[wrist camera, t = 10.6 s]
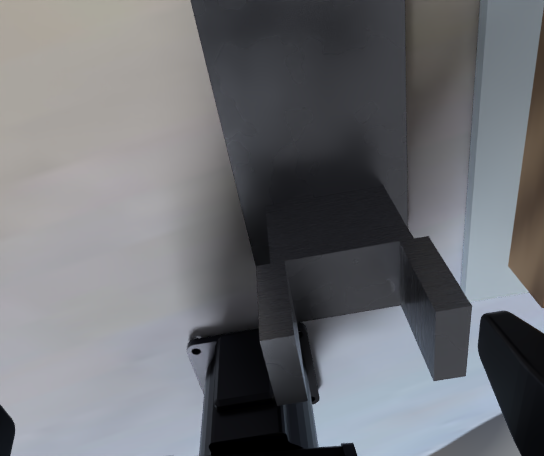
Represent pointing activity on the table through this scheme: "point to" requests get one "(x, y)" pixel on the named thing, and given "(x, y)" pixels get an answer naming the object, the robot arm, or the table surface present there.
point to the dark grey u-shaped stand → (326, 173)
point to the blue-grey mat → (498, 143)
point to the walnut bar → (531, 193)
